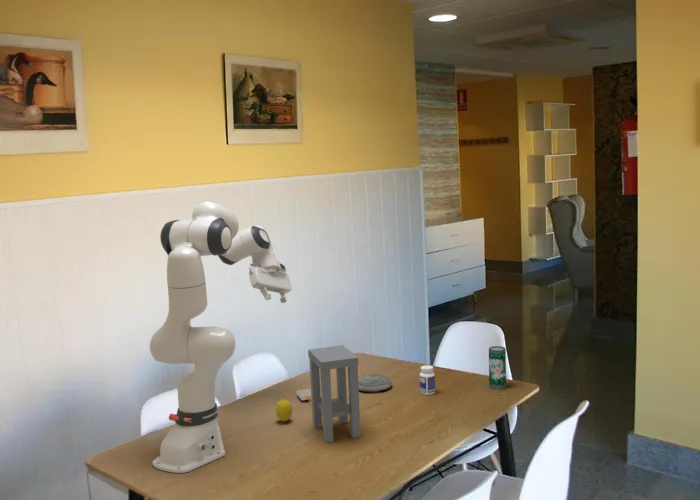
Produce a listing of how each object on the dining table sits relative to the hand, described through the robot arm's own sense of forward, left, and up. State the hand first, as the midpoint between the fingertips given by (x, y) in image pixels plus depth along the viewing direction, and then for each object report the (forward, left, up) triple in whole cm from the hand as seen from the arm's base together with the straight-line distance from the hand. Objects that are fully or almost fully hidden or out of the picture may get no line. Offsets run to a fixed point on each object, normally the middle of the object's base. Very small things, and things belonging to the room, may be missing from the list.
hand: (276, 301), depth 241 cm
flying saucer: (+28, -24, -39) cm, 53 cm away
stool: (-15, -32, -38) cm, 52 cm away
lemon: (-15, -12, -38) cm, 43 cm away
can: (+46, -68, -38) cm, 90 cm away
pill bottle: (+30, -46, -38) cm, 67 cm away
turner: (+2, -13, -36) cm, 38 cm away
